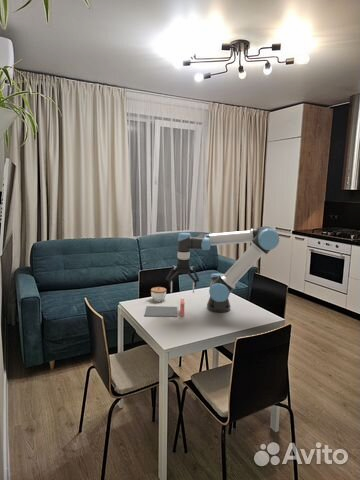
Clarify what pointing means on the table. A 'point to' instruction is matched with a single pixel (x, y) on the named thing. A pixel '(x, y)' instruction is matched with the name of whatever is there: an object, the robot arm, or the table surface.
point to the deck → (182, 307)
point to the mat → (161, 311)
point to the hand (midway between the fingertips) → (182, 292)
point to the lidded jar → (158, 293)
